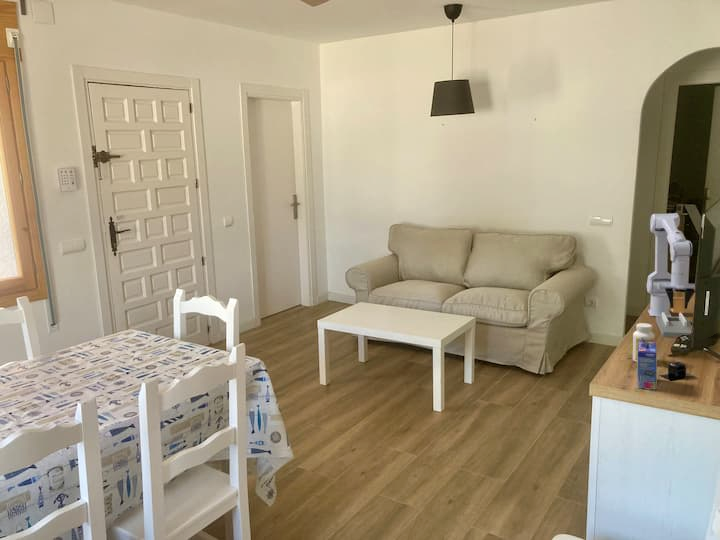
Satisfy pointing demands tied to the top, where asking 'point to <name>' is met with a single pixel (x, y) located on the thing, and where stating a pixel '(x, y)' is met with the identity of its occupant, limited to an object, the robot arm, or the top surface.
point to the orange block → (678, 305)
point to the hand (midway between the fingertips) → (678, 307)
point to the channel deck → (673, 325)
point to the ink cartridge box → (647, 365)
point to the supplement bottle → (642, 336)
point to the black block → (676, 372)
